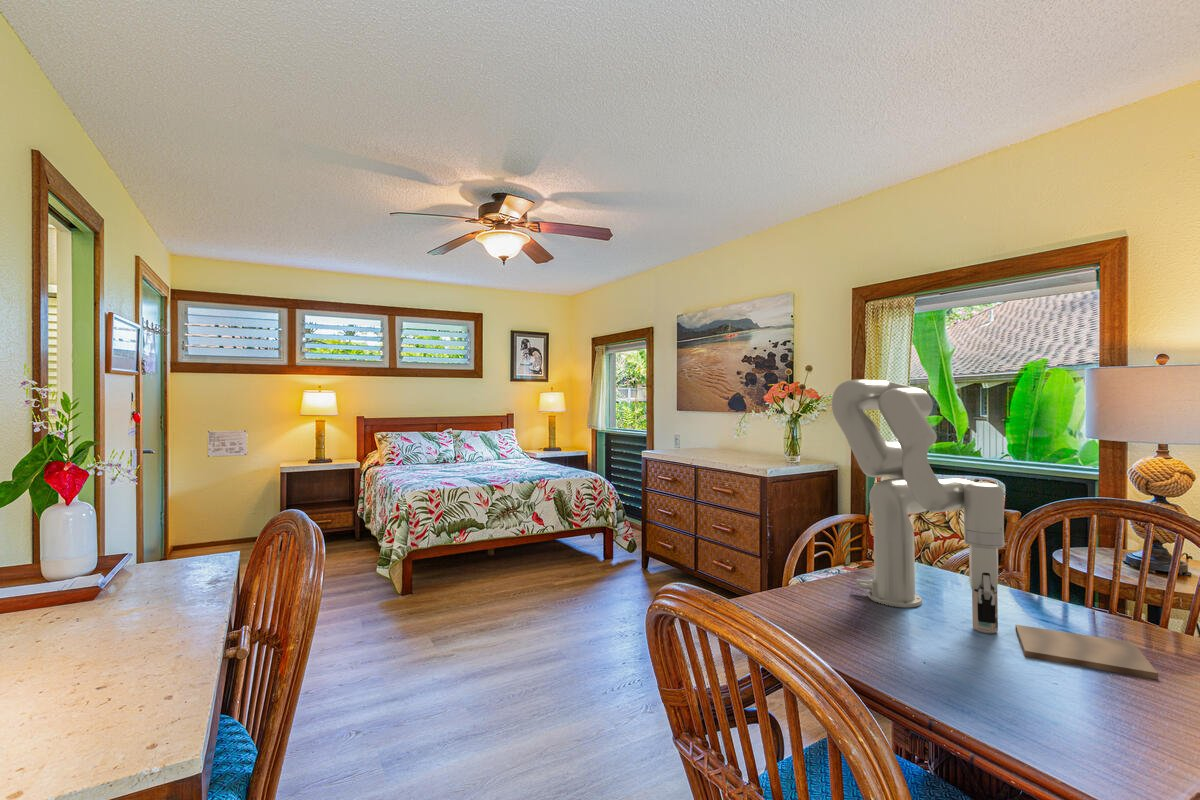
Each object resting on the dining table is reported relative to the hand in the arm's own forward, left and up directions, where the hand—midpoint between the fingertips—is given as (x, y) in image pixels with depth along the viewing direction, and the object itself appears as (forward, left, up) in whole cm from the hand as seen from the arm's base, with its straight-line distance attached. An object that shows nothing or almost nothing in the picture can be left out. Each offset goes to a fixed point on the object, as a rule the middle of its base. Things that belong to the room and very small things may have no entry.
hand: (985, 615), depth 130 cm
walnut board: (+16, -4, -3) cm, 17 cm away
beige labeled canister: (0, 0, -4) cm, 4 cm away
